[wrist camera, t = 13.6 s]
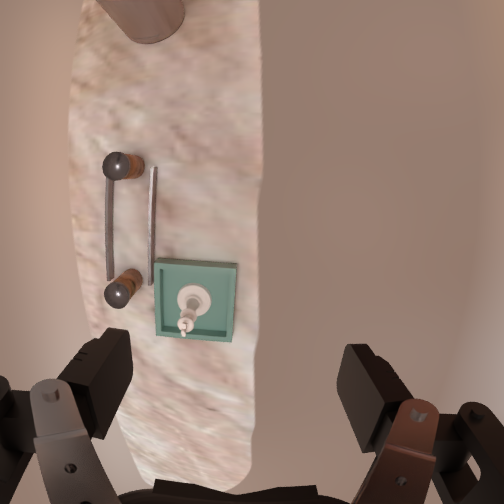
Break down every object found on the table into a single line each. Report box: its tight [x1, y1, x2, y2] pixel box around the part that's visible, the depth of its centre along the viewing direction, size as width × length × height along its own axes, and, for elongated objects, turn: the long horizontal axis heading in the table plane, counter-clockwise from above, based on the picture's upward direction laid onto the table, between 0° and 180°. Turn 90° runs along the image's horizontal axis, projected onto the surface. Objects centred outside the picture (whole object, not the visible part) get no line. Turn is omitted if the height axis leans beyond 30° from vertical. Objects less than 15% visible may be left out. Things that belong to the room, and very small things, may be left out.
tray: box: [154, 258, 237, 342], centre depth 43 cm, size 11×11×2 cm
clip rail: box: [102, 152, 157, 309], centre depth 38 cm, size 19×7×7 cm, turn 175°
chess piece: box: [177, 283, 212, 337], centre depth 39 cm, size 5×5×10 cm
